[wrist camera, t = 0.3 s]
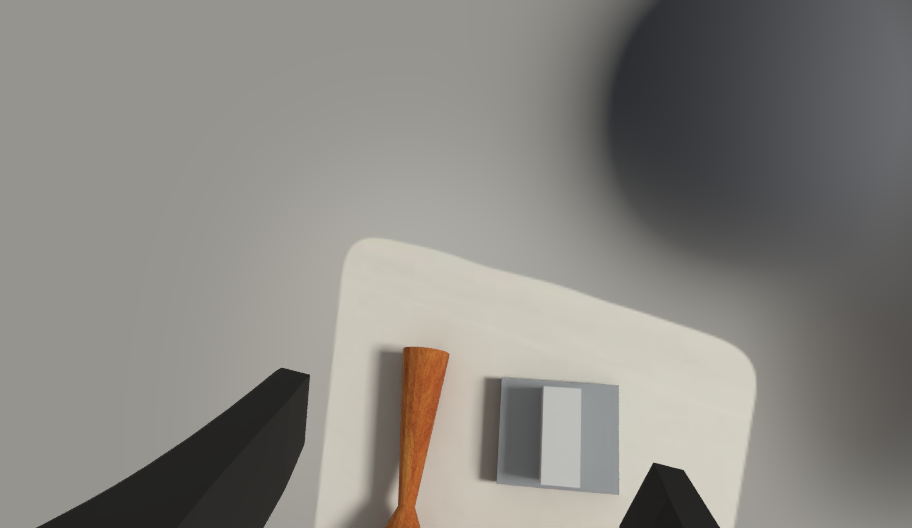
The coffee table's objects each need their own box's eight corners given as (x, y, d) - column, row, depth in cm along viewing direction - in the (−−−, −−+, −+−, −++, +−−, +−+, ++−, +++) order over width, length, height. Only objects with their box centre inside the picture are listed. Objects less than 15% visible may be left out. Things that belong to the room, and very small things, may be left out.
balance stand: (615, 492, 37) (626, 500, 33) (497, 481, 38) (495, 489, 34) (615, 386, 39) (625, 383, 35) (501, 378, 39) (501, 375, 36)
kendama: (472, 350, 36) (436, 709, 30) (462, 362, 42) (430, 667, 36) (383, 338, 36) (327, 699, 30) (385, 352, 42) (339, 659, 35)
